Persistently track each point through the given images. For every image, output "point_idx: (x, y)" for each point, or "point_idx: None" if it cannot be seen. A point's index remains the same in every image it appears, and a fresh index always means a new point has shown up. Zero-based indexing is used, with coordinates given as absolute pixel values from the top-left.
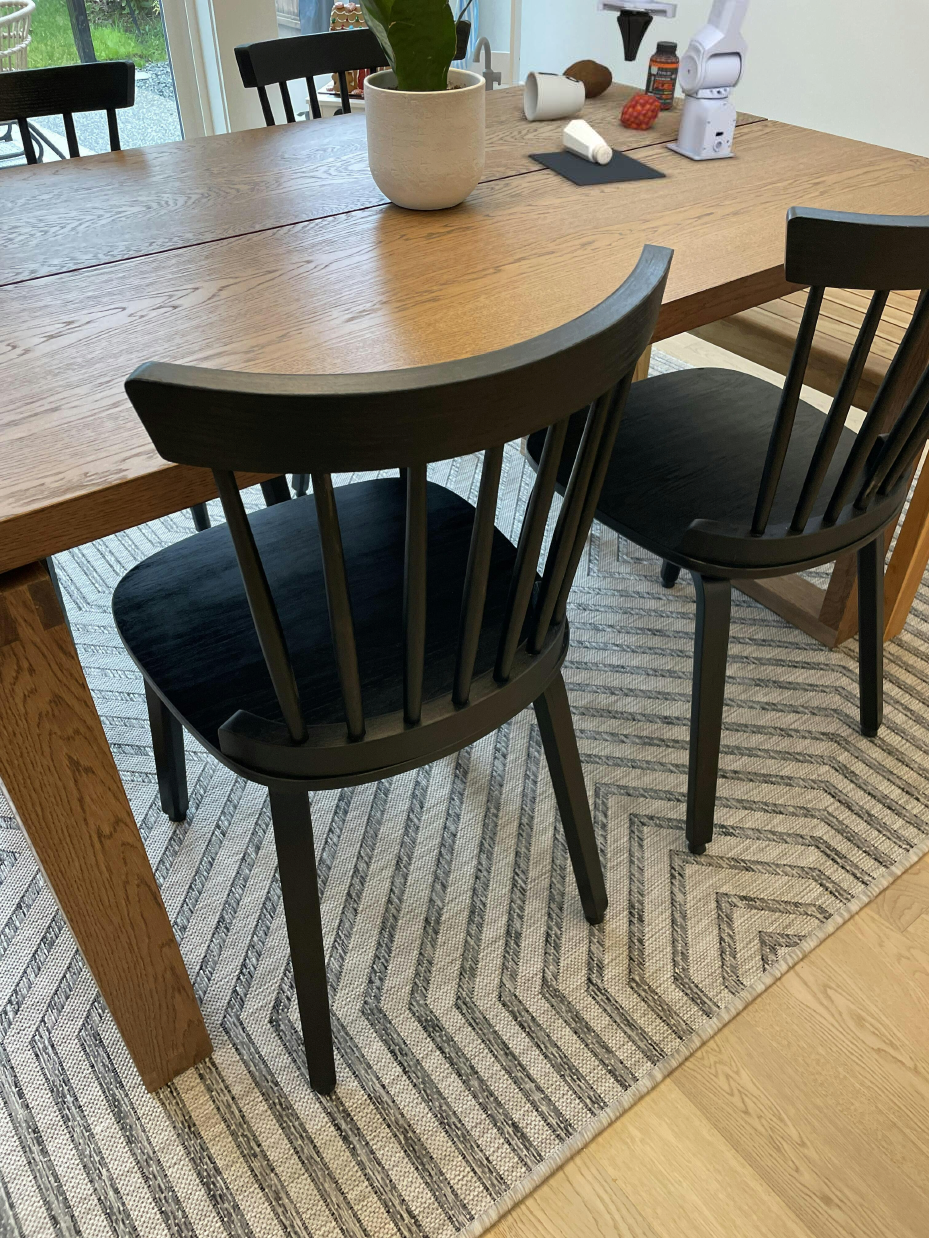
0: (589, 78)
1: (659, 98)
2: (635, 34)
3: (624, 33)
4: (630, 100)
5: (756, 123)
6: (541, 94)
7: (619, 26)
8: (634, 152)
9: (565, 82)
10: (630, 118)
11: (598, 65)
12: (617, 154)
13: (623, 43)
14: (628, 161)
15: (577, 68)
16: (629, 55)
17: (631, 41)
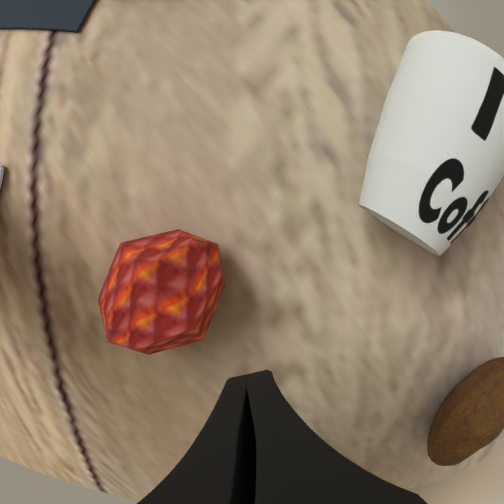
0: (466, 406)
1: None
2: (180, 481)
3: (297, 462)
4: (195, 289)
5: (89, 475)
6: (423, 40)
7: (368, 479)
8: (29, 69)
9: (433, 135)
10: (160, 235)
11: (468, 447)
12: (39, 13)
13: (291, 414)
14: (6, 9)
15: (502, 397)
16: (236, 391)
17: (222, 442)
